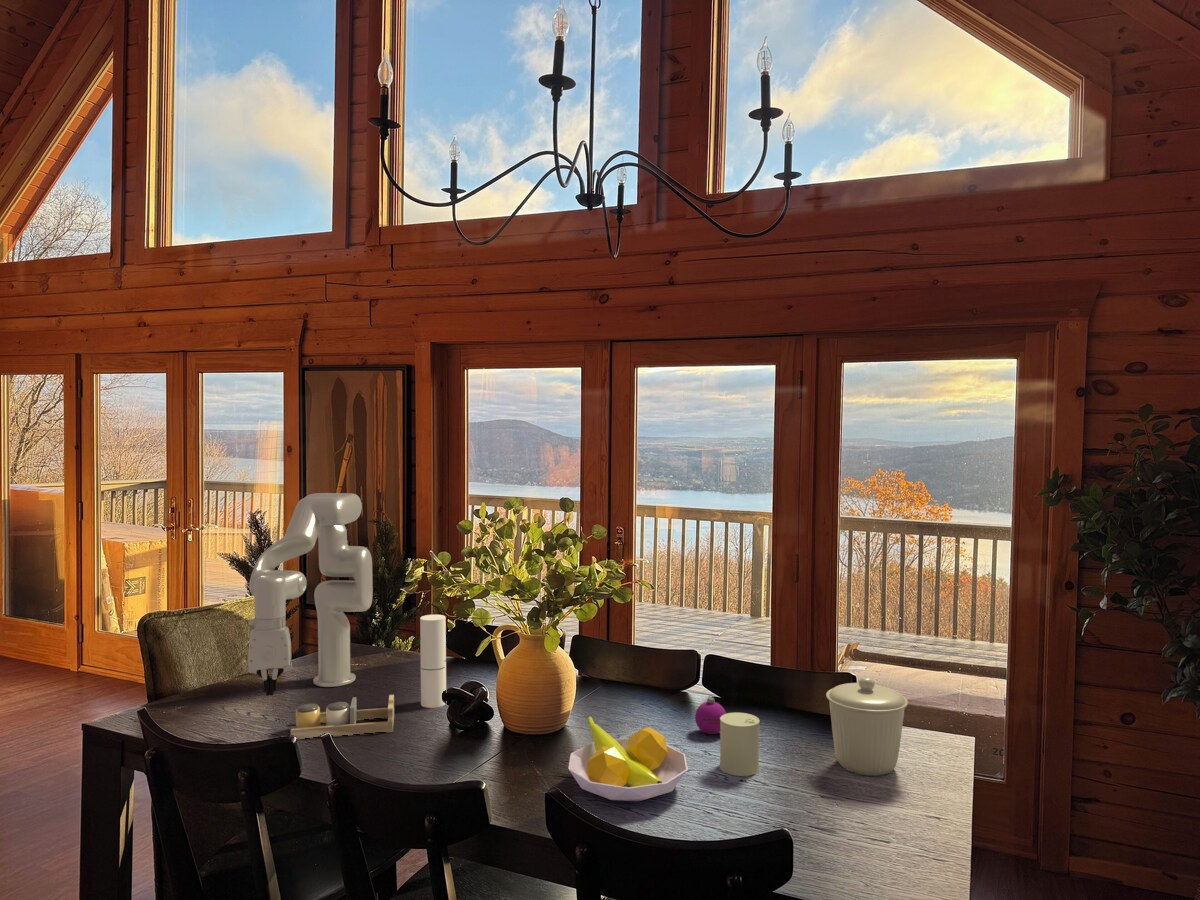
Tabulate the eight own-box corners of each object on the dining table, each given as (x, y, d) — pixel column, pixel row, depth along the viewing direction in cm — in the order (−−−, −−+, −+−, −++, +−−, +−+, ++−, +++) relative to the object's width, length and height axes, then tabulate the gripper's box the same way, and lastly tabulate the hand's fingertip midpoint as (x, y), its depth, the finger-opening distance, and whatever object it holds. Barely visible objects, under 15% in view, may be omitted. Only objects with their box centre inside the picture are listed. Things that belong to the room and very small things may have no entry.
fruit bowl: (708, 804, 172) (708, 751, 172) (584, 822, 165) (584, 767, 164) (661, 754, 199) (661, 708, 199) (552, 767, 192) (552, 719, 191)
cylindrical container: (449, 699, 239) (448, 614, 238) (442, 708, 232) (441, 620, 231) (425, 699, 240) (424, 614, 239) (417, 707, 233) (416, 620, 232)
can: (750, 779, 185) (750, 727, 184) (713, 770, 190) (713, 719, 189) (765, 765, 192) (765, 714, 192) (728, 757, 197) (729, 707, 197)
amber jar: (298, 727, 218) (297, 704, 217) (321, 725, 219) (321, 702, 219) (294, 735, 212) (293, 711, 212) (318, 733, 213) (318, 709, 213)
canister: (817, 751, 201) (818, 666, 200) (892, 752, 200) (893, 666, 199) (836, 783, 183) (837, 689, 182) (918, 784, 182) (919, 690, 181)
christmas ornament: (701, 740, 208) (701, 701, 207) (690, 728, 216) (690, 691, 215) (731, 737, 210) (731, 698, 209) (719, 726, 218) (719, 689, 217)
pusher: (352, 719, 222) (352, 697, 222) (356, 719, 222) (356, 697, 222) (350, 731, 213) (349, 708, 213) (354, 730, 213) (353, 708, 213)
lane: (297, 723, 220) (297, 701, 220) (394, 716, 226) (393, 694, 225) (290, 740, 208) (290, 716, 208) (392, 731, 214) (392, 709, 214)
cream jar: (327, 725, 219) (327, 702, 219) (350, 723, 220) (350, 700, 220) (324, 733, 213) (324, 709, 213) (348, 731, 214) (348, 708, 214)
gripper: (236, 628, 207) (236, 700, 207) (298, 625, 210) (298, 696, 210) (242, 621, 214) (242, 691, 214) (302, 619, 217) (302, 687, 218)
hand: (270, 693), depth 212 cm, fingers closed
